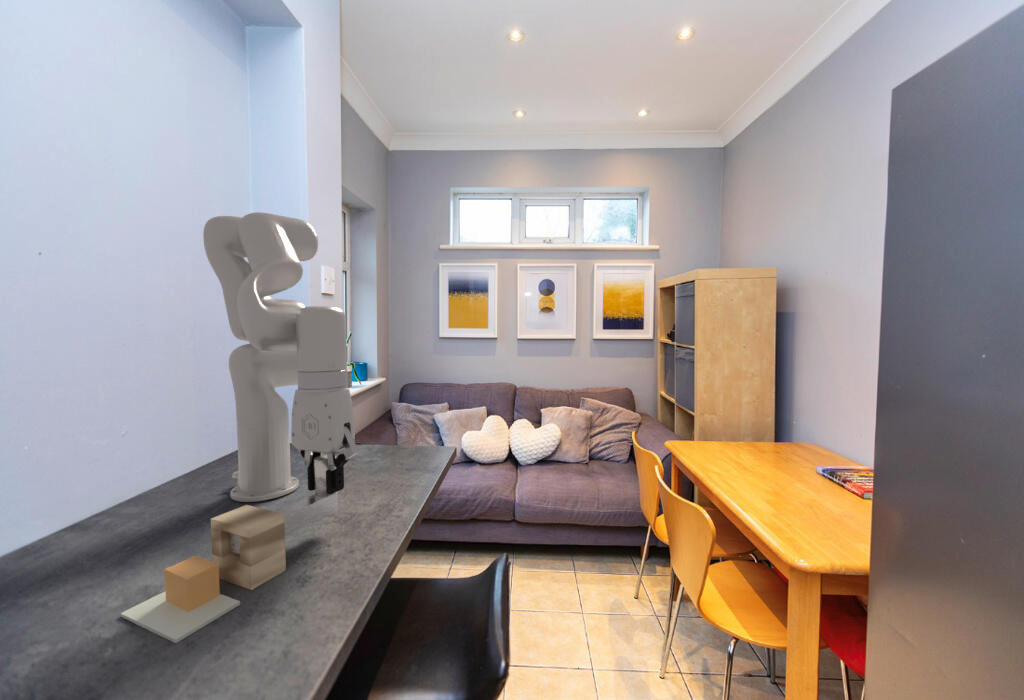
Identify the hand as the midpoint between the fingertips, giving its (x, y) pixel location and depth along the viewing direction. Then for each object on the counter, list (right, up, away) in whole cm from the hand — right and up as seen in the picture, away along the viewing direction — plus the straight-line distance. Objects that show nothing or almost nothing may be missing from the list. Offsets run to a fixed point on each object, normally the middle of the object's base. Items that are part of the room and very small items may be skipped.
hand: (326, 488), depth 70 cm
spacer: (-8, -6, -17) cm, 19 cm away
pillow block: (-5, -8, -12) cm, 15 cm away
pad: (-9, -8, -20) cm, 23 cm away
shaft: (-3, -4, -6) cm, 8 cm away
